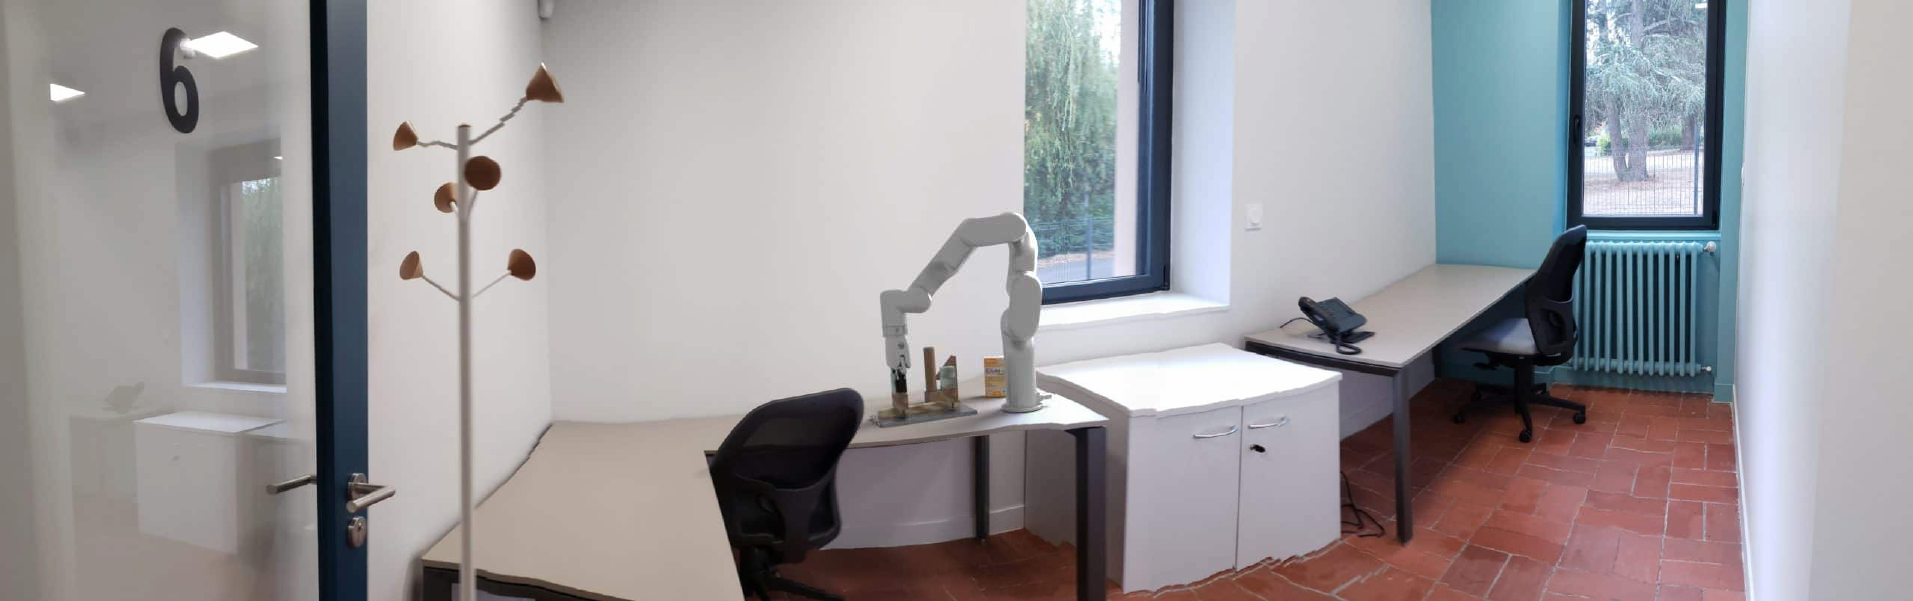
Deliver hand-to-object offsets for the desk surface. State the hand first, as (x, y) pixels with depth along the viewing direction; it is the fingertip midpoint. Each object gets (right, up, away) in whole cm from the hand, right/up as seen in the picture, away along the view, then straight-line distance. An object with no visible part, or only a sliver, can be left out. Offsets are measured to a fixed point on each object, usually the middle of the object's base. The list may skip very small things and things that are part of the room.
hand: (899, 390), depth 316 cm
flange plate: (+7, -8, +3) cm, 11 cm away
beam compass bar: (+7, -7, +4) cm, 10 cm away
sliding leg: (0, -7, +1) cm, 7 cm away
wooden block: (+12, -6, +24) cm, 28 cm away
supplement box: (+31, -4, +26) cm, 41 cm away
